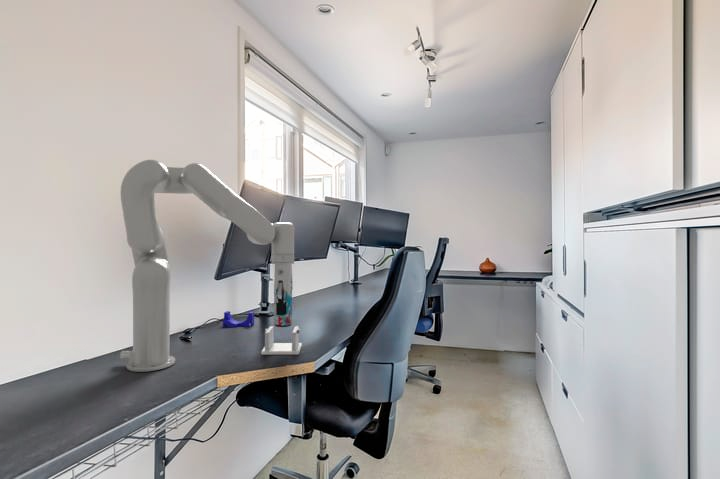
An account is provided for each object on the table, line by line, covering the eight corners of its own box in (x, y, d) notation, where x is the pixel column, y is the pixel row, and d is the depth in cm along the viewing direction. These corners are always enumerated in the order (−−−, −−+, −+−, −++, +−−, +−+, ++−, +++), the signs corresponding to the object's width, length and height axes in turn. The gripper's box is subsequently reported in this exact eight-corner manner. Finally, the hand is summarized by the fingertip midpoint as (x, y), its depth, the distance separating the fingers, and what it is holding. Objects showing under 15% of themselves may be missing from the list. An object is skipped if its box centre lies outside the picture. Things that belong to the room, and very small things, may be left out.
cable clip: (222, 327, 165) (222, 313, 165) (226, 325, 169) (226, 311, 169) (250, 327, 164) (251, 313, 164) (254, 325, 169) (254, 311, 169)
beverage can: (286, 328, 128) (286, 282, 128) (270, 326, 130) (270, 281, 130) (295, 324, 134) (295, 280, 134) (279, 323, 136) (279, 279, 135)
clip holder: (261, 354, 127) (261, 332, 127) (267, 345, 137) (267, 325, 137) (298, 354, 127) (298, 332, 127) (301, 345, 137) (301, 325, 137)
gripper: (290, 260, 123) (290, 318, 123) (297, 257, 140) (297, 308, 141) (266, 260, 123) (266, 318, 123) (276, 257, 140) (276, 308, 140)
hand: (282, 312), depth 132 cm, fingers closed on beverage can, 5 cm apart
